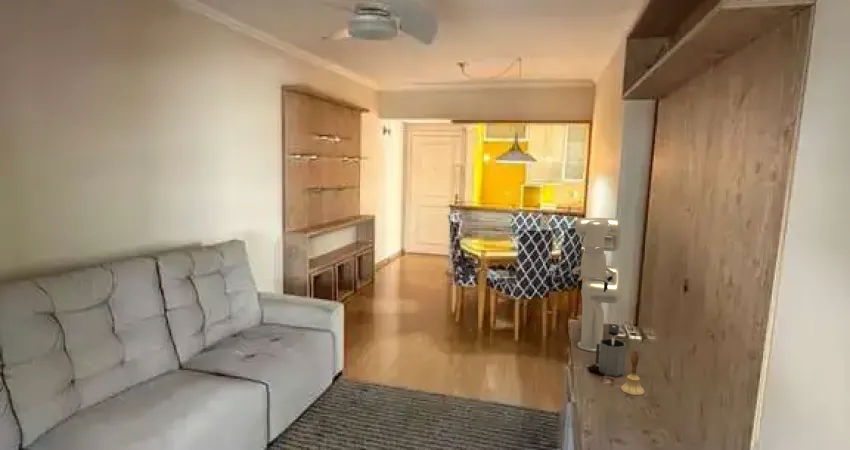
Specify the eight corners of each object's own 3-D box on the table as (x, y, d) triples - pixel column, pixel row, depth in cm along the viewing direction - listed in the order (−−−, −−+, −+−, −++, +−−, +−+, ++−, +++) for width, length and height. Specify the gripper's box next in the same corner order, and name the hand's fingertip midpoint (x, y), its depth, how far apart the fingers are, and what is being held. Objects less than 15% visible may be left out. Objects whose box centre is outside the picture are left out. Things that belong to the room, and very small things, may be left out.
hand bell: (643, 387, 191) (645, 347, 189) (645, 396, 184) (647, 355, 182) (620, 384, 194) (622, 345, 192) (621, 393, 186) (623, 352, 184)
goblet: (603, 359, 209) (605, 321, 207) (620, 362, 207) (622, 323, 205) (603, 365, 203) (605, 326, 201) (620, 368, 201) (622, 328, 199)
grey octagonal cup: (595, 365, 212) (597, 337, 211) (624, 368, 208) (625, 340, 207) (595, 374, 203) (596, 345, 202) (624, 378, 199) (626, 348, 198)
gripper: (572, 250, 208) (570, 290, 210) (616, 253, 202) (614, 294, 204) (573, 247, 215) (572, 286, 217) (616, 250, 208) (614, 290, 211)
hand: (592, 290), depth 210 cm, fingers open, 9 cm apart
